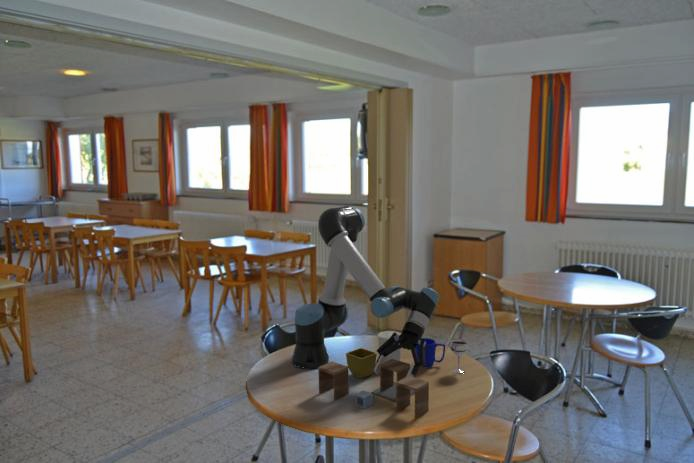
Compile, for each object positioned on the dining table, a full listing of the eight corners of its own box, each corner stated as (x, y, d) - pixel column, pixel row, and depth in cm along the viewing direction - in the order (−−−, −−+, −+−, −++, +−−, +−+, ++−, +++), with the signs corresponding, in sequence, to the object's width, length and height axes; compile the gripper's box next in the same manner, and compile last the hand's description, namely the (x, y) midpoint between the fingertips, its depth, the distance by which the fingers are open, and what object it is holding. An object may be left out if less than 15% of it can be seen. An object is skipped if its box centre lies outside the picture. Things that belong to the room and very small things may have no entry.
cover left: (318, 393, 192) (318, 367, 190) (332, 387, 197) (331, 361, 196) (335, 400, 186) (334, 372, 185) (348, 393, 192) (348, 366, 190)
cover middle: (380, 391, 192) (380, 364, 191) (392, 384, 197) (391, 358, 196) (398, 397, 187) (398, 369, 186) (410, 390, 192) (410, 364, 191)
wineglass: (471, 373, 208) (471, 343, 206) (455, 375, 206) (456, 345, 204) (461, 367, 214) (462, 338, 213) (446, 369, 212) (447, 340, 210)
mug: (444, 370, 211) (445, 345, 210) (414, 368, 214) (414, 344, 212) (445, 362, 219) (445, 339, 218) (415, 360, 222) (415, 337, 220)
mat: (371, 392, 192) (371, 391, 192) (391, 382, 201) (391, 381, 201) (398, 402, 184) (398, 401, 184) (418, 391, 193) (418, 390, 193)
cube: (355, 405, 182) (355, 394, 182) (363, 401, 185) (363, 390, 185) (364, 409, 180) (364, 398, 179) (372, 405, 183) (372, 393, 182)
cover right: (396, 411, 178) (396, 382, 177) (408, 403, 183) (408, 375, 182) (416, 418, 173) (416, 388, 171) (428, 410, 178) (428, 381, 176)
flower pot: (361, 369, 214) (361, 347, 213) (377, 375, 208) (377, 352, 207) (345, 375, 208) (345, 353, 207) (361, 381, 202) (361, 358, 200)
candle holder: (407, 364, 218) (407, 335, 217) (388, 369, 213) (388, 340, 211) (391, 356, 226) (391, 329, 225) (373, 362, 221) (373, 333, 219)
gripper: (448, 338, 193) (425, 391, 184) (392, 324, 209) (368, 373, 200) (440, 327, 188) (416, 381, 179) (384, 314, 205) (359, 364, 196)
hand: (391, 377), depth 190 cm, fingers open, 13 cm apart
